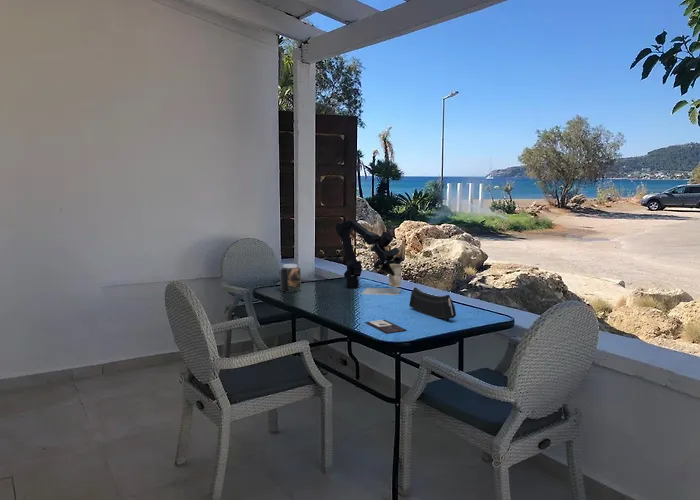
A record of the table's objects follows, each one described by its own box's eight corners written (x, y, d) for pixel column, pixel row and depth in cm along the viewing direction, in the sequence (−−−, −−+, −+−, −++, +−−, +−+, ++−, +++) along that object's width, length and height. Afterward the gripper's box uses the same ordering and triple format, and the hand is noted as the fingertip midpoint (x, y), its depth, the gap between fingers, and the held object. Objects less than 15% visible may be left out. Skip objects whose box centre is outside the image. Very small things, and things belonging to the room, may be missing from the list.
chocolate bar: (386, 332, 190) (365, 322, 207) (386, 335, 190) (365, 324, 207) (406, 329, 194) (384, 319, 210) (406, 332, 194) (384, 321, 210)
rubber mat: (361, 295, 266) (361, 294, 266) (366, 288, 285) (366, 287, 284) (398, 296, 262) (398, 295, 262) (401, 289, 281) (401, 288, 281)
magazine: (406, 289, 234) (444, 280, 207) (411, 288, 235) (450, 279, 209) (411, 325, 231) (451, 320, 205) (417, 324, 233) (457, 319, 206)
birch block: (389, 286, 265) (389, 264, 264) (394, 285, 268) (394, 263, 267) (395, 287, 262) (395, 265, 260) (400, 286, 265) (401, 264, 264)
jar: (277, 292, 277) (276, 265, 275) (285, 288, 288) (285, 263, 287) (296, 293, 274) (295, 266, 272) (304, 289, 285) (303, 263, 283)
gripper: (377, 244, 259) (393, 267, 252) (400, 241, 272) (416, 263, 265) (367, 257, 265) (382, 280, 259) (390, 254, 278) (405, 276, 271)
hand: (397, 274), depth 263 cm, fingers closed on birch block, 4 cm apart
